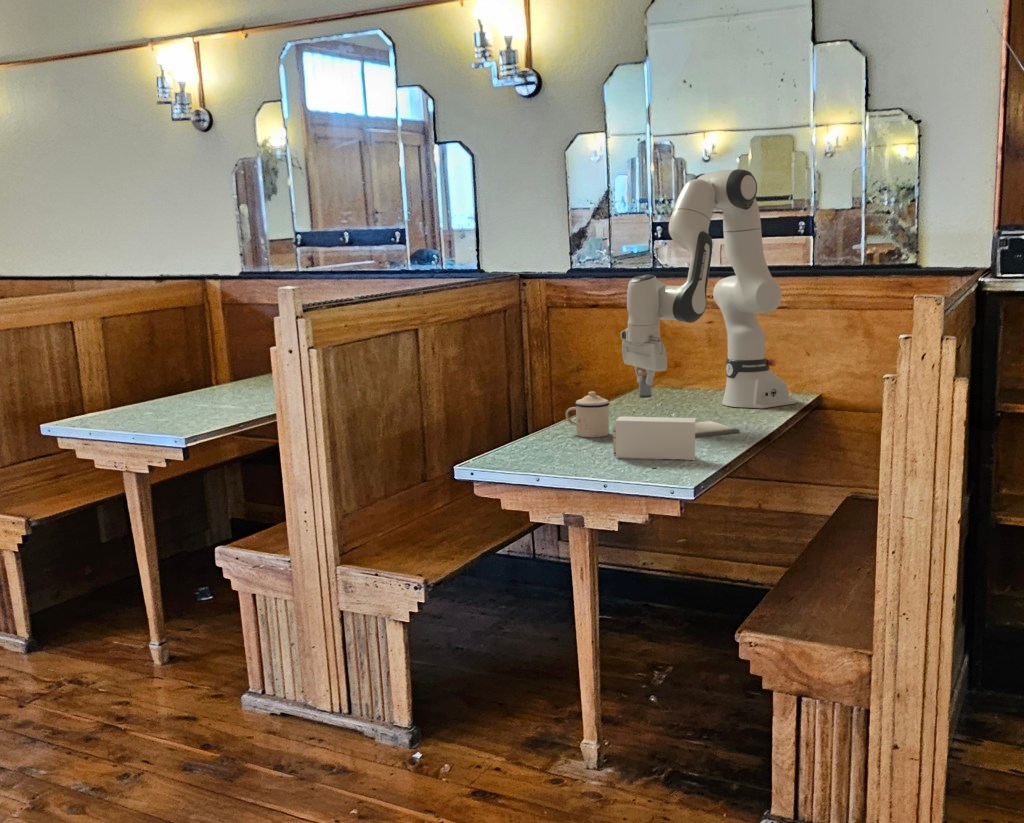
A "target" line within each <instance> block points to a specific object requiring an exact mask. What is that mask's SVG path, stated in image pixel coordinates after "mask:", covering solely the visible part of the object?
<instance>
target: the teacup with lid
mask: <svg viewBox="0 0 1024 823" xmlns="http://www.w3.org/2000/svg"><path fill="white" fill-rule="evenodd" d="M587 394H588V395H585V396H584V397H582V398H581V399H580V398H579V399H577V400H576V401H575V403H574V404H575V406H572V407H569V408H568V409H567V410H566V411H565V419H566V421H567V422H568V424H570V425H571V426H575V427H576V435H577V436H578V437H582V438H589V439H590V438H592V439H594V438H604V437H606V436H609V434H610V425H609V422H610V418H609V417H610V415H609V414H610V413H609V412H610V410H609V409H610V407H609V405H610V402H609V400H608V399H606V398H604V397H601V396H600V395H598V394H597V392H596V391H589V392H588V393H587ZM571 411H575V413H576V415H575V416H576V421H572V420H571V418H570V412H571Z"/></svg>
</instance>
